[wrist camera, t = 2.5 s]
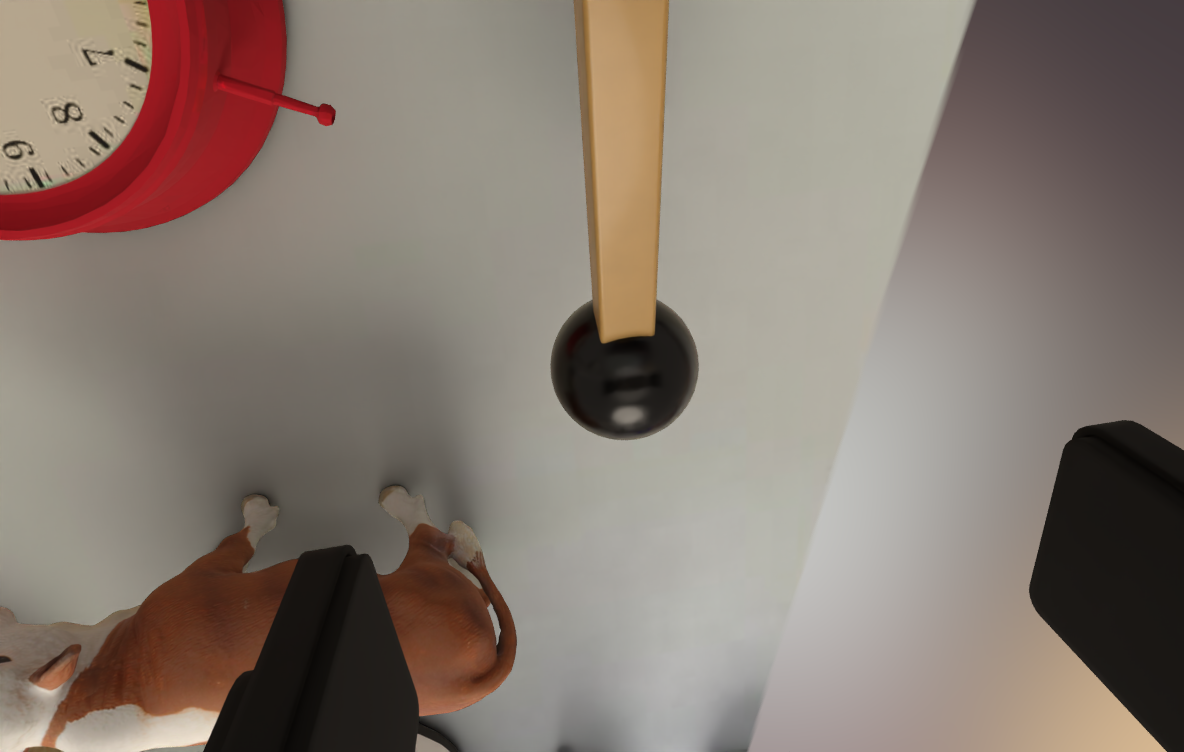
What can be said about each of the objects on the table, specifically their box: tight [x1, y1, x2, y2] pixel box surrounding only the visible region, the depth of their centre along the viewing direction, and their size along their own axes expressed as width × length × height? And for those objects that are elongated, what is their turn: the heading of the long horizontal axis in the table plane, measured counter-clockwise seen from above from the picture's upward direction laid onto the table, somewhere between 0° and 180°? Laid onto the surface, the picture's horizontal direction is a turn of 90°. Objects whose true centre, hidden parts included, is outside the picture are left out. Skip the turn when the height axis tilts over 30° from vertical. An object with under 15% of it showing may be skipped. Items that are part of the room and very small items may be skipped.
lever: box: [550, 0, 699, 440], centre depth 9 cm, size 17×3×3 cm, turn 6°
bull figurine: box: [0, 486, 517, 752], centre depth 19 cm, size 4×13×8 cm, turn 82°
